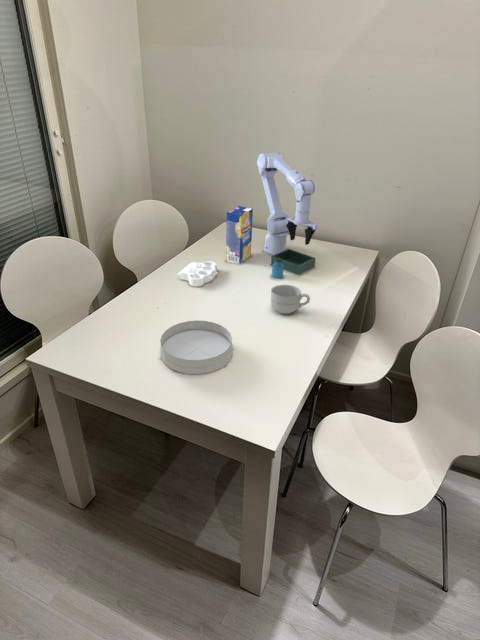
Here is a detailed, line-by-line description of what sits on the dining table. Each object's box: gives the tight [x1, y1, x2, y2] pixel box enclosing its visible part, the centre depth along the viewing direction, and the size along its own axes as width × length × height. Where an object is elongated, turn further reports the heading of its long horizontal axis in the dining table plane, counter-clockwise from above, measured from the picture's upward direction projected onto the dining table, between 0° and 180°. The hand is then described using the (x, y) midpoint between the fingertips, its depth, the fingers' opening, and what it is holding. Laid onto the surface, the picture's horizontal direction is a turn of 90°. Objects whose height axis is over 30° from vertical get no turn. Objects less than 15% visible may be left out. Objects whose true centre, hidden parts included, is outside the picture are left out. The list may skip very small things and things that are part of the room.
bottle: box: [271, 258, 284, 280], centre depth 186 cm, size 5×5×8 cm
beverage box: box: [225, 205, 254, 264], centre depth 198 cm, size 7×11×22 cm, turn 153°
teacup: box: [270, 284, 311, 315], centre depth 163 cm, size 14×11×8 cm
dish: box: [159, 320, 233, 375], centre depth 140 cm, size 22×22×5 cm
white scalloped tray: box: [177, 260, 219, 288], centre depth 186 cm, size 3×18×15 cm
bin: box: [270, 248, 317, 276], centre depth 197 cm, size 15×12×5 cm
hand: (299, 241), depth 195 cm, fingers open, 7 cm apart
